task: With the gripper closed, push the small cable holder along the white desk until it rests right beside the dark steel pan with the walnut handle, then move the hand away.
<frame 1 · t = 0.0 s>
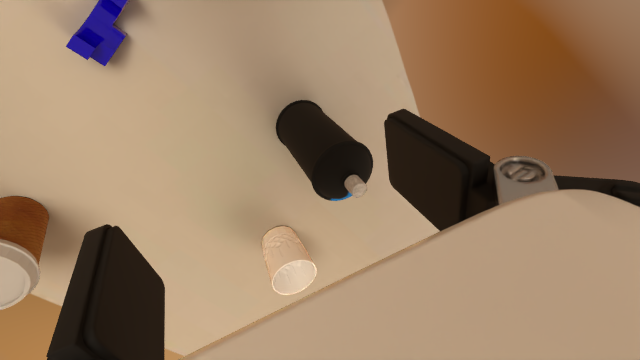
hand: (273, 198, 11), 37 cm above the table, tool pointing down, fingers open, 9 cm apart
cable holder: (111, 22, 36), on the table
white cup: (278, 238, 62), on the table
disposable coffee cup: (19, 215, 43), on the table
aerosol can: (300, 124, 51), on the table
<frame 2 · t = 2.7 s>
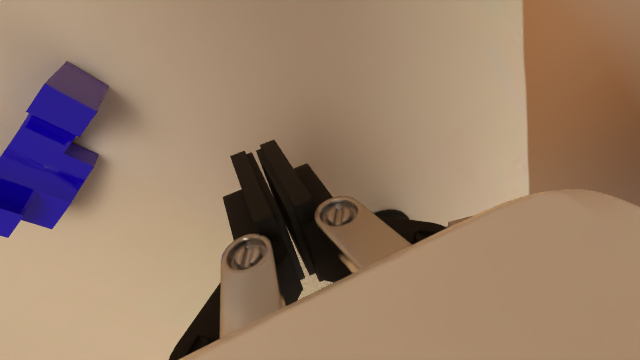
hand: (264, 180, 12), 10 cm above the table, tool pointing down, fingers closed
cable holder: (65, 137, 18), on the table
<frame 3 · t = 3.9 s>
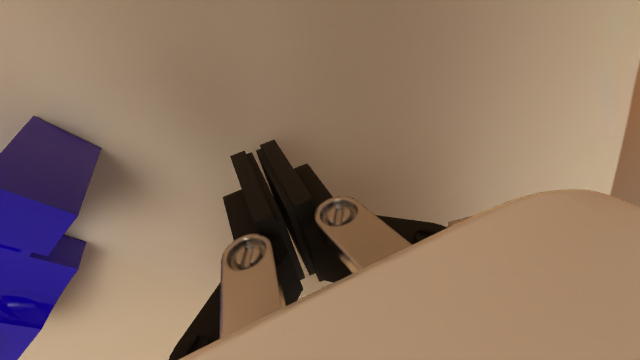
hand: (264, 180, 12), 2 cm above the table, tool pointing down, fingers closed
cable holder: (35, 223, 12), on the table
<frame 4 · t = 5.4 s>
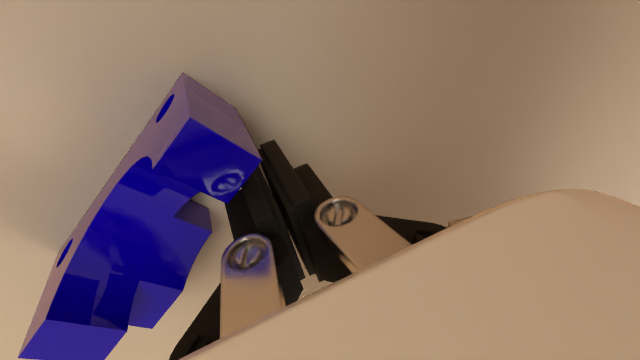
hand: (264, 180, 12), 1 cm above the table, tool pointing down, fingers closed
cable holder: (166, 187, 12), on the table, touching gripper
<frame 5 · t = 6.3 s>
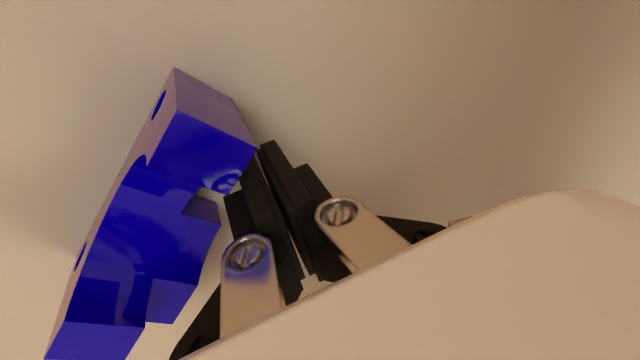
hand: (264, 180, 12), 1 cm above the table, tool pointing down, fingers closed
cable holder: (172, 185, 12), on the table, touching gripper
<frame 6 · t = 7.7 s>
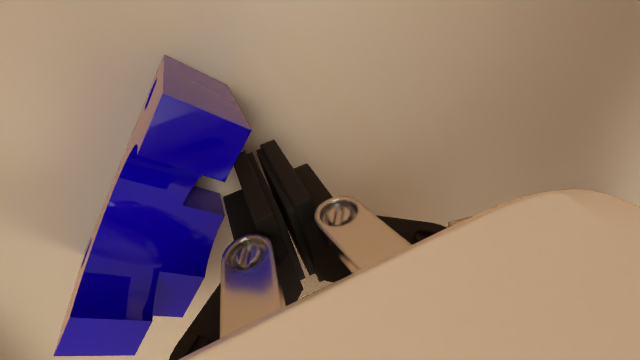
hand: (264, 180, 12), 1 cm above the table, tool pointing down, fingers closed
cable holder: (173, 178, 12), on the table, touching gripper
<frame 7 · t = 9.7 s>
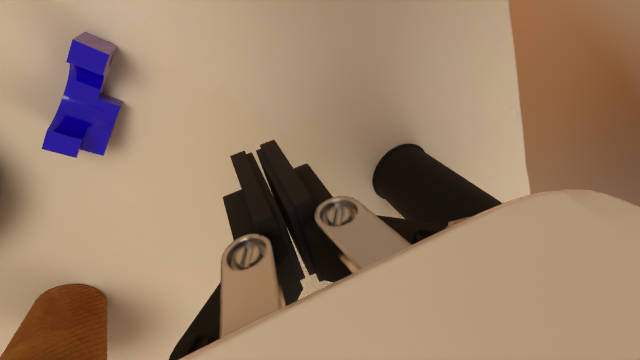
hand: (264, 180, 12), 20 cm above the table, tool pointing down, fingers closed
cable holder: (98, 91, 26), on the table
disposable coffee cup: (72, 304, 34), on the table
aerosol can: (398, 171, 42), on the table
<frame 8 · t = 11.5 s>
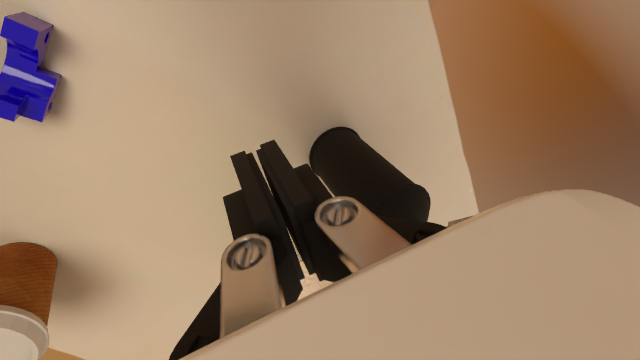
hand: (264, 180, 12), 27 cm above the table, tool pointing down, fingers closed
cable holder: (38, 65, 29), on the table
white cup: (304, 272, 57), on the table
disposable coffee cup: (23, 262, 37), on the table
aerosol can: (335, 152, 46), on the table
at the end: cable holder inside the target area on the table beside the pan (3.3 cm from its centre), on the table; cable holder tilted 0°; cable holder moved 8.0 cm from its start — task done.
